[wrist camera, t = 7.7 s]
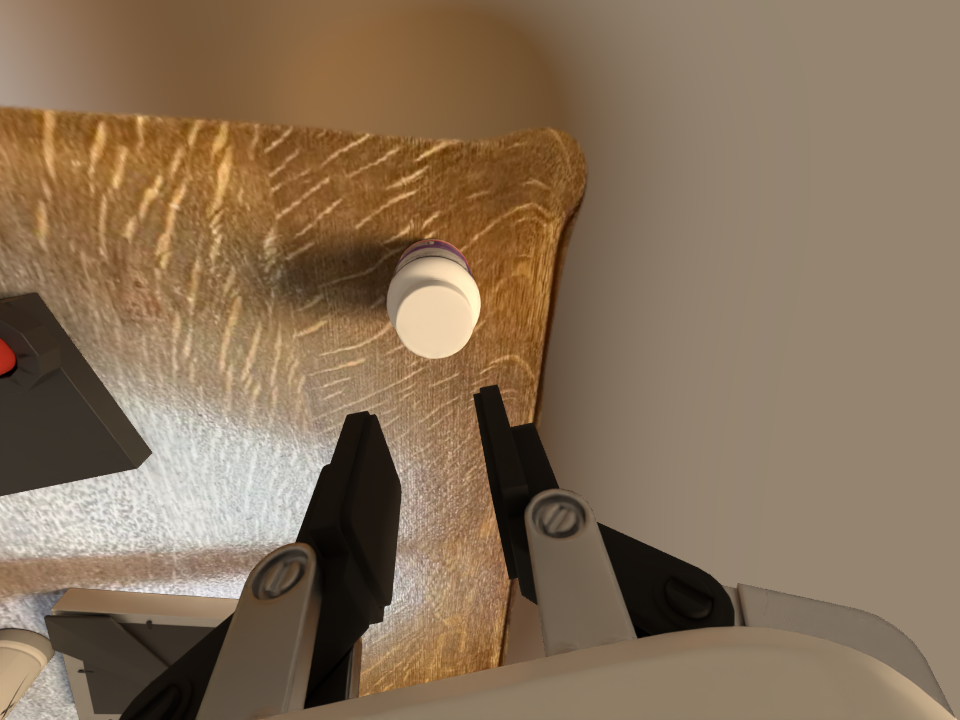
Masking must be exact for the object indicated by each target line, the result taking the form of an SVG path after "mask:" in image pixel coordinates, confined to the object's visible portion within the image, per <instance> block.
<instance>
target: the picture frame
mask: <svg viewBox="0 0 960 720" xmlns="http://www.w3.org/2000/svg"><path fill="white" fill-rule="evenodd" d="M238 601H239V599H225V598H210V597H196V596H181V595H166V594H151V593H136V592H121V591H107V590H92V589H77V588H69V589H68V590H67V591H66V593H65V594H64V595H63V596H62V597H61V598H60V600H59V601H58V602H57V603H56V604H55V605H54V607H53V608H52V609H51V610H52V614H53V615H46V616H45V617H44V619H45V623H46V627H47V630H48V634H49V638H50V641H51V645H52V649H53V650H56V651H58V652H61V653H62V654H63V658H64V662H65V666H66V670H67V674H68V678H69V682H70V686H71V690H72V694H73V698H74V702H75V706H76V710H77V714H78V718H79V720H109V719H112V720H119V718H120V716H121V715H122V713H123V712H124V711H125V710H126V708H127V707H128V706H129V704H130V703H131V702H132V701H133V699H134V698H135V697H136V696H137V695H138V694H139V693H140V692H142V691H143V690H144V689H145V688H146V687H147V686H148V685H149V684H150V683H151V682H152V681H154V680H155V679H156V678H157V677H158V676H159V675H161V674H162V673H163V672H164V671H165V670H166V669H168V668H169V667H170V666H171V665H172V664H174V663H175V662H176V661H177V660H178V659H179V658H181V657H182V656H183V655H184V654H185V653H186V652H188V651H189V650H190V649H191V648H192V647H193V646H195V645H196V644H197V643H198V642H199V641H201V640H202V639H203V638H204V637H205V636H206V635H208V634H209V633H210V632H211V631H212V630H213V629H215V628H216V627H217V626H218V625H219V624H220V623H222V622H223V621H224V620H225V619H226V618H228V617H229V616H230V615H231V614H232V613H233V612H235V609H236V607H237V604H238Z"/></svg>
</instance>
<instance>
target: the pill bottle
mask: <svg viewBox="0 0 960 720" xmlns="http://www.w3.org/2000/svg"><path fill="white" fill-rule="evenodd" d="M387 311H388V315H389V318H390V321H391V323H392V325H393V327H394V328H395V329H396V331H397V334H398V336H399V338H400V340H401V341H402V343H403V344H404V345H405V346H406V347H407V348H408V349H409V350H410V351H411V352H413V353H415V354H417V355H419V356H422V357H425V358H432V359H439V358H444V357H448V356H450V355H453V354H455V353H456V352H458V351H459V350H460V349H462V348H463V347H464V346H465V344H466V343H467V342H468V340H469V338H470V336H471V334H472V330H473V328H474V326H475V324H476V323H477V320H478V317H479V313H480V295H479V290H478V287H477V285H476V283H475V280H474V278H473V275H472V273H471V270H470V267H469V264H468V262H467V260H466V259H465V257H464V255H463V254H462V253H461V252H460V251H459V250H458V249H457V248H456V247H455V246H453V245H452V244H450V243H448V242H445V241H442V240H437V239H428V240H422V241H419V242H417V243H415V244H413V245H411V246H410V247H409V248H408V249H407V250H406V251H405V252H404V253H403V254H402V256H401V257H400V259H399V261H398V264H397V266H396V269H395V272H394V275H393V278H392V281H391V283H390V286H389V290H388V295H387Z"/></svg>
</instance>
